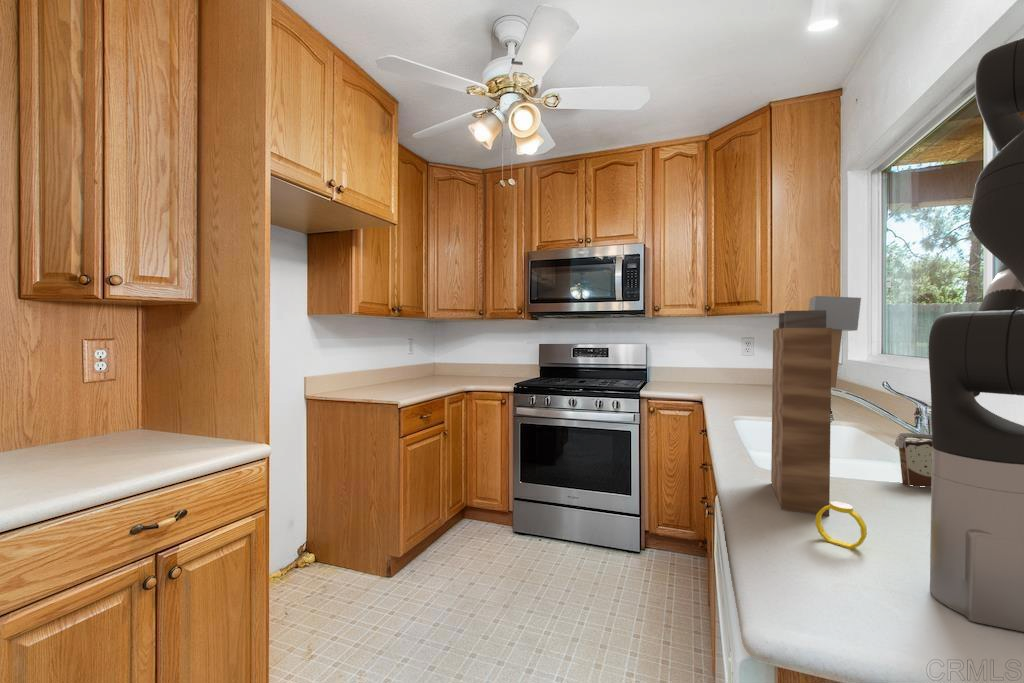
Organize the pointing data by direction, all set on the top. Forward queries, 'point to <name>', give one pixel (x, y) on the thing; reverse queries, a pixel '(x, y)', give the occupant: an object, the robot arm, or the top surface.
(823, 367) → the stand
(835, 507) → the watch
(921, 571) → the top surface
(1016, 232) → the robot arm
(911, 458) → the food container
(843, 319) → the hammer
